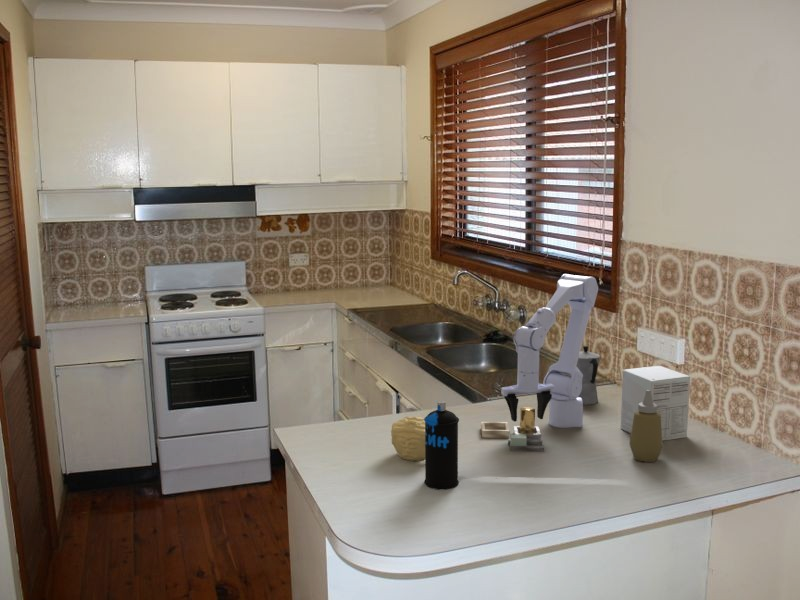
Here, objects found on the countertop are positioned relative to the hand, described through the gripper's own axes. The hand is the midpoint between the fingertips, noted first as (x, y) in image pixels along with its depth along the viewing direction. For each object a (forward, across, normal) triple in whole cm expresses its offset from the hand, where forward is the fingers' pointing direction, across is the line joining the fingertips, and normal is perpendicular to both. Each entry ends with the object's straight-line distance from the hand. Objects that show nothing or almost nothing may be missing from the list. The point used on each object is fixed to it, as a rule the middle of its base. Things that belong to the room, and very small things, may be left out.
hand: (527, 419), depth 214 cm
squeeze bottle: (+6, -24, +20) cm, 32 cm away
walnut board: (+6, +5, 0) cm, 8 cm away
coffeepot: (+6, -32, -29) cm, 44 cm away
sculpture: (+7, +32, +3) cm, 33 cm away
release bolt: (+5, +5, +7) cm, 10 cm away
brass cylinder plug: (+5, 0, 0) cm, 5 cm away
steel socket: (+5, 0, 0) cm, 5 cm away
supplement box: (+6, -37, +3) cm, 37 cm away
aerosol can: (+7, +31, +22) cm, 38 cm away
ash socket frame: (+5, +7, -6) cm, 10 cm away
